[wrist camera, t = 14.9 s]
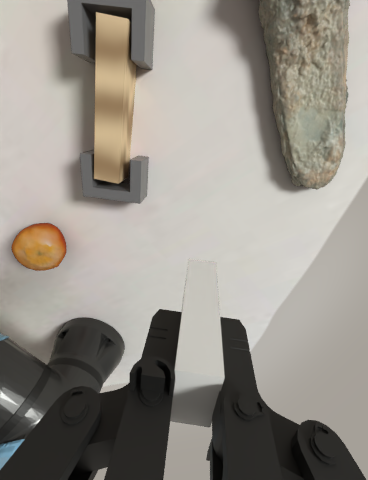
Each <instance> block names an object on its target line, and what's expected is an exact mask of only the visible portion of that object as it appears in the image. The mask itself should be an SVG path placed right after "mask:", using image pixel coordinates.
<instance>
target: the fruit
mask: <svg viewBox="0 0 368 480" xmlns="http://www.w3.org/2000/svg"><path fill="white" fill-rule="evenodd" d="M12 252H13V254H14V256H15V258H16V259H17V260H18V261H19V262H20V263H21V264H22V265H23V266H25V267H27V268H29V269H33V270H36V271H37V270H39V271H40V270H48V269H52V268H55V267H58V266H59V264H60V263H61V261H62V260H63V258H64V256H65V254H66V242H65V239H64V237H63V235H62V233H61V231H60V230H59V229H58V228H57V227H56V226H54V225H52V224H50V223H39V224H33V225H31V226H29V227H27V228H25V229H23V230H22V231H21V232H19V234H18V235H17V236H16V238H15V240H14V241H13V244H12Z"/></svg>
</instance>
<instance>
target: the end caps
mask: <svg viewBox="0 0 368 480" xmlns="http://www.w3.org/2000/svg"><path fill="white" fill-rule="evenodd" d="M67 1H68V14H69V26H70V39H71V51H72V53H73V54H74V55H76V56H78V57H80V58H82V59H84V60H86V61H88V62H92V63H95V62H96V12H98V13H103V14H108V15H112V16H117V17H122V18H127V19H129V21H130V22H131V23H132V50H131V60H132V61H133V62H134V63H135V64H137V65H138V66H139V67H140V68H143V69H152V63H153V39H154V15H155V9H154V7H153V4H152V2H151V0H67ZM148 159H149V157H145V156H137V157H135V158H133V159H131V160H130V184H126V183H119V184H118V183H113V182H108V181H103V180H98V179H94V150H91V151H87V152H83V153H80V163H81V175H82V187H83V196H86V197H94V198H101V199H109V200H116V201H124V202H132V203H139V204H140V203H141V202H142V201H143V200H144V198H145V197H146V196H147V183H148Z"/></svg>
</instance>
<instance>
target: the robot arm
mask: <svg viewBox="0 0 368 480" xmlns="http://www.w3.org/2000/svg"><path fill="white" fill-rule="evenodd" d="M124 349H125V346H124V341H123V339H122V337H121V336H120V334H119V333H118V332H117V331H116V330H115V329H114V328H113V327H111V326H110V325H108V324H106V323H104V322H102V321H99V320H96V319H91V318H77V319H73V320H71V321H69V322H67V323H66V324H65V325H64V326H63V327H62V329H61V330H60V332H59V333H58V335H57V337H56V340H55V343H54V347H53V351H52V354H51V358H50V361H49V363H48V365H46V364H45V363H43V362H42V361H40V360H39V359H37V358H36V357H35V356H33V355H32V354H30V353H29V352H27V351H26V350H25V349H23V348H22V347H20V346H19V345H18V344H16V343H15V342H14V341H12V340H11V339H9V336H5V335H3V334H1V333H0V480H93V479H94V477H95V475H96V473H97V471H98V469H102V468H106V467H108V468H107V472H106V476H105V479H104V480H163V476H164V468H165V460H166V459H165V458H166V450H167V442H168V433H169V425H170V421H173V422H179V423H185V424H192V425H198V426H204V427H210V426H211V423H212V435H213V436H212V439H211V443H210V446H209V449H208V453H207V459H206V460H208V461H210V480H366V478H365V477H364V476H363V474H362V472H361V470H360V469H359V467H358V465H357V464H356V462H355V461H354V459H353V457H352V456H351V454H350V452H349V451H348V449H347V448H346V446H345V444H344V443H343V442H342V440H341V439H340V438H339V437H338V435H337V434H336V433H335V432H334V431H332V430H331V429H330V428H329V427H327V426H326V425H324V424H322V423H320V422H318V421H314V420H307V421H305V422H302V423H301V425H299V424H297V423H294V422H293V421H291V420H289V419H286V418H285V417H283V416H281V415H279V414H277V413H276V412H274V411H273V410H271V409H270V408H269V407H268V406H267V405H266V403H265V402H264V401H263V400H262V398H261V396H260V394H259V393H258V389H257V385H256V380H255V375H254V370H253V365H252V360H251V354H250V352H249V350H250V349H249V344H248V339H247V334H246V329H245V328H244V326H243V325H242V323H241V322H240V320H237V319H230V318H223V317H220V308H219V295H218V281H217V268H216V262H210V261H202V260H195V259H189V261H188V268H187V275H186V283H185V290H184V297H183V305H182V312H176V311H169V310H162V309H159V310H158V312H157V313H156V314H155V315H154V316H153V318H152V321H151V325H150V329H149V332H148V336H147V339H146V343H145V347H144V350H143V354H142V358H141V359H140V360H139V361H138V362H137V363H136V364H135V365H134V366H133V368H132V370H131V372H130V383H129V384H128V385H126V386H124V387H123V388H121V389H118V390H114V391H110V392H104V393H100V390H101V388H102V386H103V383H104V382H105V381H106V379H107V378H108V377H109V376H110V374H111V373H112V372H113V371H114V369H115V368H116V367H117V366H118V364H119V363H120V361H121V358H122V356H123V353H124Z"/></svg>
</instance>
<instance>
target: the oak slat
mask: <svg viewBox="0 0 368 480" xmlns="http://www.w3.org/2000/svg"><path fill="white" fill-rule="evenodd" d="M131 50H132V23H131V22H130V21H129V19H127V18H122V17H117V16H112V15H108V14H103V13H98V12H96V62H95V141H94V179H98V180H103V181H108V182H113V183H118V184H119V183H120V182H122V181H123V180H124V179H126V178H127V177H128V174H129V160H130V147H131V134H132V121H133V108H134V95H135V82H136V69H137V64H135V63H134V62H133V61H132V60H131Z"/></svg>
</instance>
